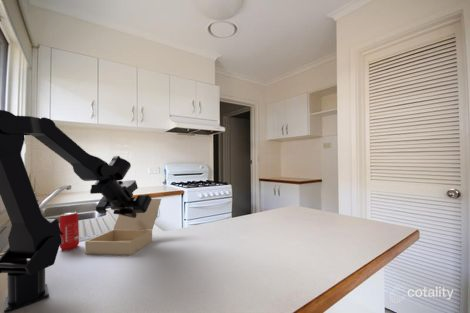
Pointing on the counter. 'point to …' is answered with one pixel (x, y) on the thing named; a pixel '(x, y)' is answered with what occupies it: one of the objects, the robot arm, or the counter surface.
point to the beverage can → (69, 231)
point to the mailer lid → (139, 219)
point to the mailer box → (118, 242)
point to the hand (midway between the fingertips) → (135, 216)
